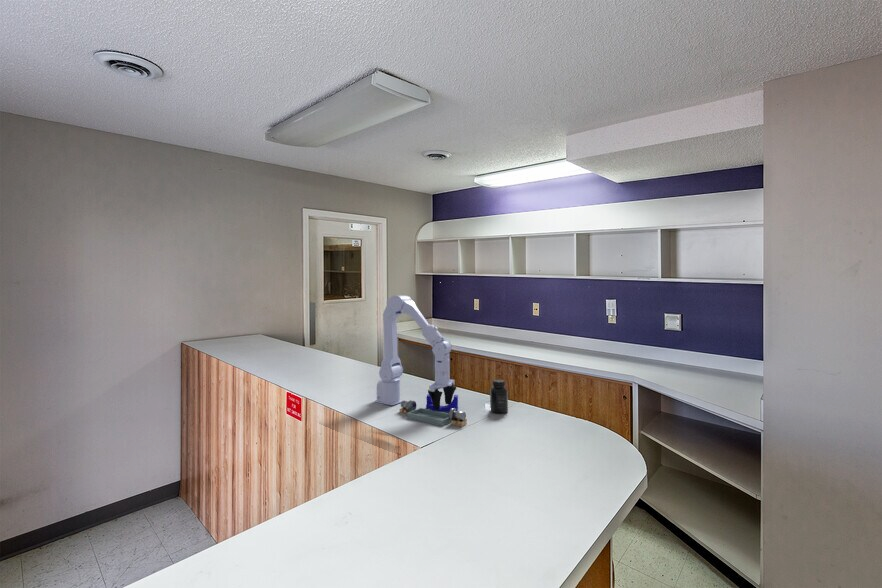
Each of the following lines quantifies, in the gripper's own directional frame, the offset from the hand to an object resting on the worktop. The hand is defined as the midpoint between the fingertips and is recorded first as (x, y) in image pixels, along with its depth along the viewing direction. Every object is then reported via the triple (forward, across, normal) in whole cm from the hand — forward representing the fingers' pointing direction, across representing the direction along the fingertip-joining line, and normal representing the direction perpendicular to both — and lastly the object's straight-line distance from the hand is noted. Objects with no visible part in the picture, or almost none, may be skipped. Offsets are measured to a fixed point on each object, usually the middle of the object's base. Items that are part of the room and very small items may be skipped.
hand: (442, 406), depth 160 cm
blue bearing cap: (+2, 0, 0) cm, 2 cm away
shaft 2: (+2, -10, -11) cm, 15 cm away
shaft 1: (+2, -10, +7) cm, 12 cm away
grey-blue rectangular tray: (+2, -10, -2) cm, 10 cm away
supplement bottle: (+2, +13, -18) cm, 22 cm away
